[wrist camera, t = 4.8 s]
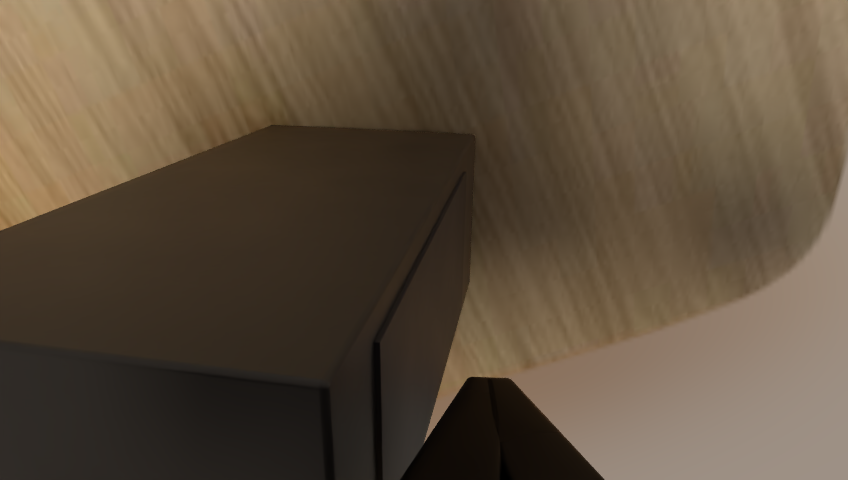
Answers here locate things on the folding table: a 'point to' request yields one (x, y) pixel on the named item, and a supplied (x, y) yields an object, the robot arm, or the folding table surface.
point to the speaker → (240, 312)
